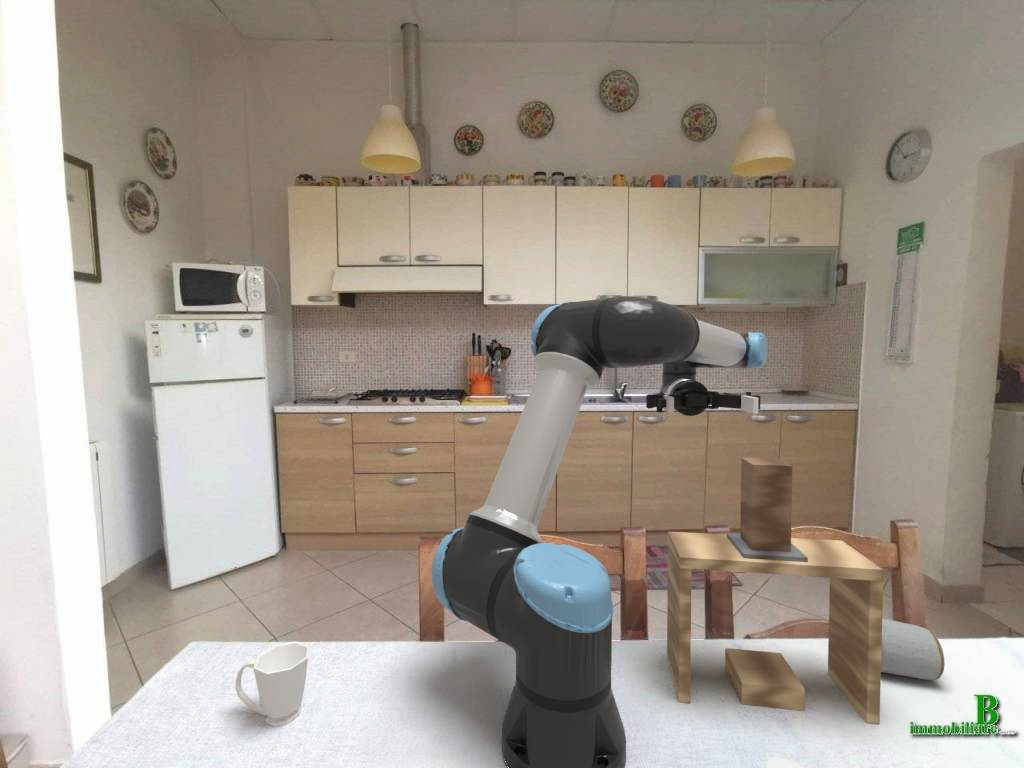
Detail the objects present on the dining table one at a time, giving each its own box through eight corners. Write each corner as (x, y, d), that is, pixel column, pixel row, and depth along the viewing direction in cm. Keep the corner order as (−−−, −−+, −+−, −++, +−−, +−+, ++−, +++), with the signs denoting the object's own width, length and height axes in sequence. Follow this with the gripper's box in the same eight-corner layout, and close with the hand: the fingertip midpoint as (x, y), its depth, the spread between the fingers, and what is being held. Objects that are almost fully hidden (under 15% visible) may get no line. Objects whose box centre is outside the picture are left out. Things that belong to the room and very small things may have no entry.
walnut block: (751, 550, 64) (753, 464, 64) (740, 537, 69) (741, 457, 69) (790, 552, 63) (792, 465, 63) (776, 538, 68) (777, 458, 68)
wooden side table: (678, 702, 64) (680, 553, 63) (667, 657, 74) (668, 527, 73) (879, 724, 60) (883, 565, 59) (838, 673, 70) (841, 536, 69)
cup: (295, 736, 59) (294, 674, 58) (220, 732, 59) (218, 671, 59) (321, 696, 66) (320, 641, 65) (253, 694, 66) (252, 639, 66)
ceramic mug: (948, 693, 66) (949, 640, 65) (879, 682, 68) (880, 630, 68) (909, 651, 76) (910, 605, 76) (851, 642, 78) (852, 597, 78)
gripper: (748, 415, 98) (792, 428, 77) (627, 413, 102) (637, 426, 81) (749, 379, 97) (793, 383, 77) (628, 379, 102) (638, 383, 81)
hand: (713, 405), depth 79 cm, fingers open, 13 cm apart
